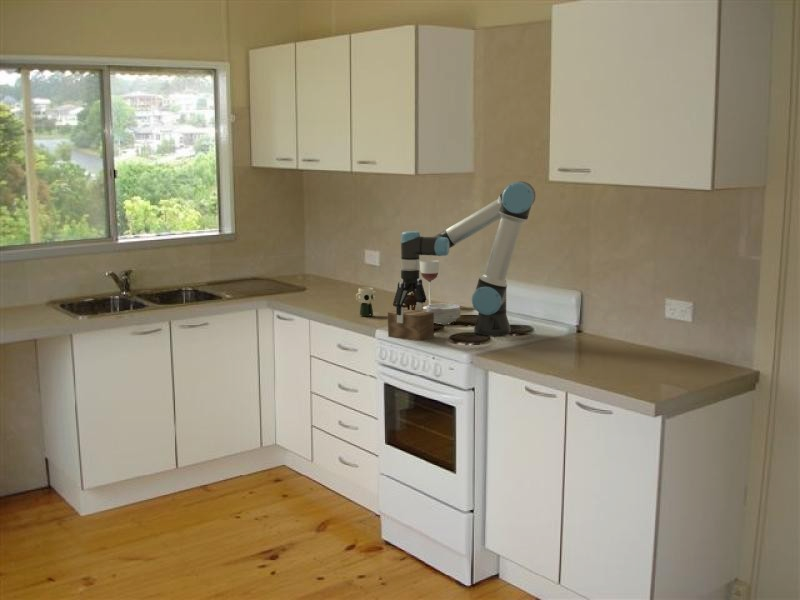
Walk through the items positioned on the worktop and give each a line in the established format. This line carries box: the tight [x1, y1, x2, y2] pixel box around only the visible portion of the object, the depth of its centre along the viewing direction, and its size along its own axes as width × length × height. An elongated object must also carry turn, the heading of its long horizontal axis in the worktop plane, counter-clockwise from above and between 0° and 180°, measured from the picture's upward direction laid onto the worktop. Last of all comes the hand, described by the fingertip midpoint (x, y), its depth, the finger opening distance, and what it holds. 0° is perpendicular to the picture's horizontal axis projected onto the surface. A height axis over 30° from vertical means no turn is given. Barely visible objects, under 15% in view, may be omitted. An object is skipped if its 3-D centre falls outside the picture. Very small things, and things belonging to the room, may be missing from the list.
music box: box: [402, 292, 424, 311], centre depth 398 cm, size 15×11×20 cm
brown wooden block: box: [387, 308, 435, 341], centre depth 379 cm, size 16×10×10 cm, turn 53°
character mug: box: [355, 287, 377, 317], centre depth 428 cm, size 11×7×13 cm, turn 126°
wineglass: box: [419, 259, 440, 310], centre depth 449 cm, size 9×10×23 cm
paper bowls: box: [425, 302, 462, 325], centre depth 408 cm, size 15×15×8 cm
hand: (409, 320), depth 378 cm, fingers open, 13 cm apart
